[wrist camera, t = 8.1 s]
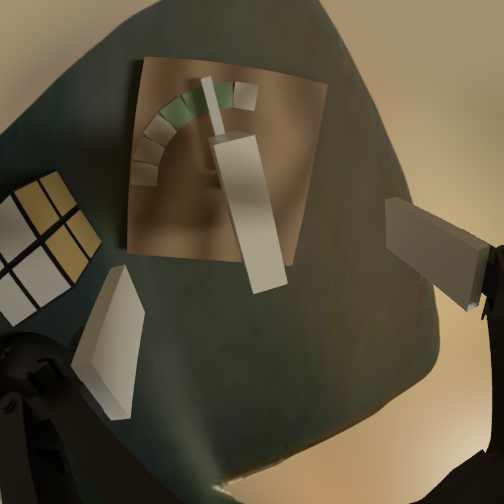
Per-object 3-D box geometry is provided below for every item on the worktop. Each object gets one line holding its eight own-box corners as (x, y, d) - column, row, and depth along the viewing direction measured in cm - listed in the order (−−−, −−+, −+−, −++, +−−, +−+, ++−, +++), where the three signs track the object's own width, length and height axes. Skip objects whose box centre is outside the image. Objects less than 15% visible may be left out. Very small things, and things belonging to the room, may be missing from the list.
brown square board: (129, 248, 33) (127, 254, 31) (147, 59, 25) (144, 56, 24) (288, 259, 36) (292, 266, 35) (322, 85, 29) (328, 84, 27)
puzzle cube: (47, 282, 32) (14, 330, 23) (2, 216, 28) (-45, 249, 19) (104, 242, 32) (76, 288, 23) (56, 167, 28) (9, 189, 19)
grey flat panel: (192, 82, 25) (190, 56, 14) (218, 76, 26) (233, 46, 15) (232, 231, 32) (253, 293, 21) (255, 225, 32) (287, 283, 21)
